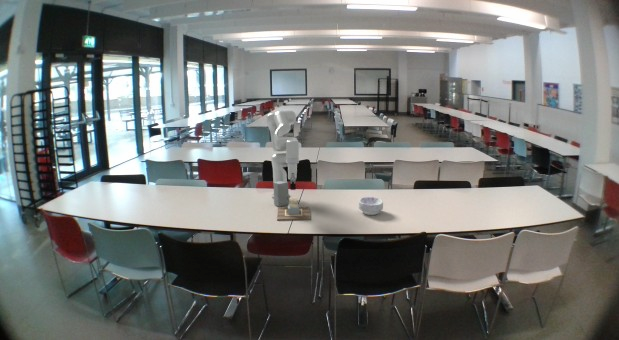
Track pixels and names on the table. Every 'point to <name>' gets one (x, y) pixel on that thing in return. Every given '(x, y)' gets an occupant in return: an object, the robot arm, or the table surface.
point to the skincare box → (281, 193)
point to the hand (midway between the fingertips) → (292, 187)
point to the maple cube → (293, 203)
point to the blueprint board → (282, 212)
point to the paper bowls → (370, 205)
